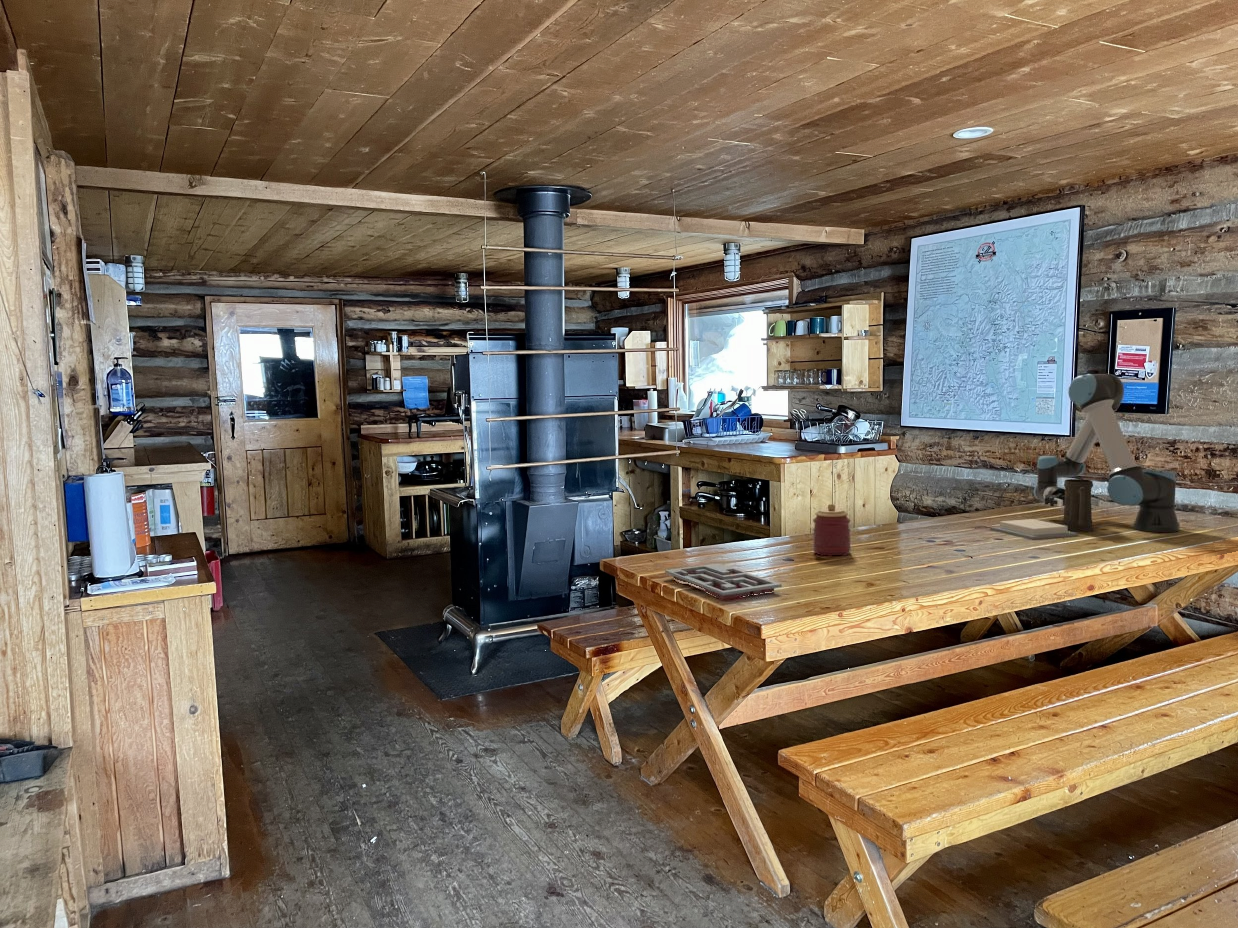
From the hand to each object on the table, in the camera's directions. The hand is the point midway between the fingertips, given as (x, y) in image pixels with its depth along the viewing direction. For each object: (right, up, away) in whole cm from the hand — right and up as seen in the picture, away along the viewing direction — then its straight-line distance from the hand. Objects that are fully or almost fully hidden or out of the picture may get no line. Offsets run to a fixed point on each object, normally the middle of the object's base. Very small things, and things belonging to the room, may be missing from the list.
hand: (1080, 503), depth 340 cm
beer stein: (+1, -11, +2) cm, 11 cm away
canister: (-102, -17, -27) cm, 107 cm away
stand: (-18, -11, +1) cm, 21 cm away
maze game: (-147, -22, -72) cm, 165 cm away
